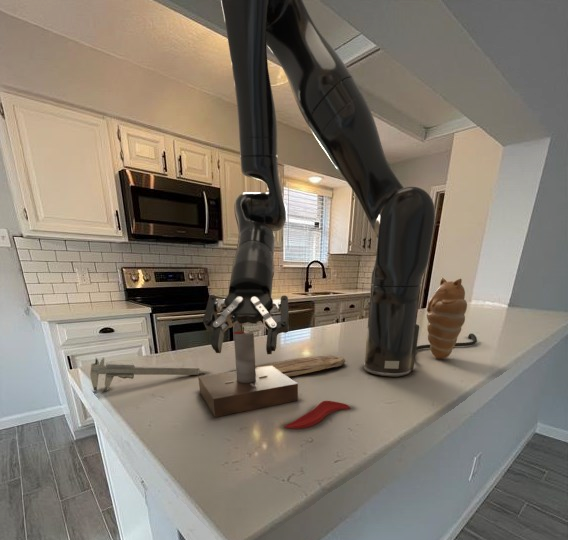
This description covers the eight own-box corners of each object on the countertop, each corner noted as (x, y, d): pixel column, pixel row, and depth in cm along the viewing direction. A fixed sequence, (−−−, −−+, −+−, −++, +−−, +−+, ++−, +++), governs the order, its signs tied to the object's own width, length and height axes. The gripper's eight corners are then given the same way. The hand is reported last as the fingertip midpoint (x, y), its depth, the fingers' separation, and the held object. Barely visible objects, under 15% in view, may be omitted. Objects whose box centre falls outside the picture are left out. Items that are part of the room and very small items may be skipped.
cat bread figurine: (413, 355, 78) (423, 277, 72) (438, 352, 81) (450, 276, 74) (441, 365, 70) (455, 279, 64) (468, 361, 73) (484, 278, 67)
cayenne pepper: (342, 402, 53) (342, 392, 52) (359, 414, 49) (360, 402, 48) (275, 417, 48) (274, 406, 47) (288, 431, 44) (288, 419, 43)
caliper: (94, 393, 58) (86, 359, 56) (94, 391, 59) (86, 358, 56) (205, 373, 67) (202, 344, 65) (204, 372, 68) (201, 343, 66)
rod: (252, 375, 57) (249, 328, 54) (258, 381, 54) (256, 332, 51) (234, 378, 55) (231, 330, 52) (240, 384, 53) (237, 334, 50)
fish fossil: (242, 387, 59) (241, 381, 59) (225, 375, 68) (224, 370, 68) (352, 363, 70) (352, 358, 70) (325, 356, 79) (325, 351, 79)
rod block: (271, 379, 63) (271, 364, 62) (298, 400, 54) (298, 382, 53) (200, 392, 58) (198, 375, 56) (215, 417, 48) (213, 398, 47)
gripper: (208, 258, 56) (192, 338, 49) (290, 258, 55) (285, 339, 48) (219, 288, 63) (206, 361, 56) (292, 288, 62) (288, 363, 55)
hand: (242, 351), depth 52 cm, fingers open, 8 cm apart
